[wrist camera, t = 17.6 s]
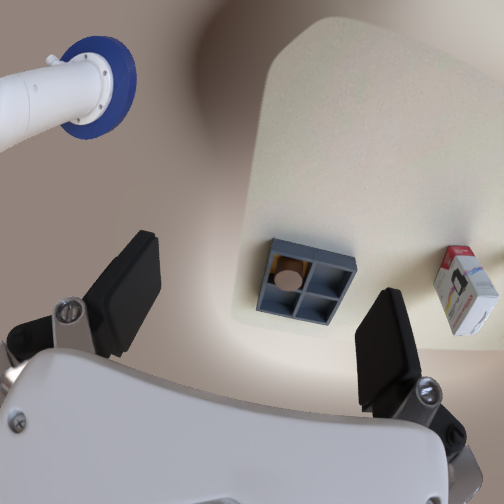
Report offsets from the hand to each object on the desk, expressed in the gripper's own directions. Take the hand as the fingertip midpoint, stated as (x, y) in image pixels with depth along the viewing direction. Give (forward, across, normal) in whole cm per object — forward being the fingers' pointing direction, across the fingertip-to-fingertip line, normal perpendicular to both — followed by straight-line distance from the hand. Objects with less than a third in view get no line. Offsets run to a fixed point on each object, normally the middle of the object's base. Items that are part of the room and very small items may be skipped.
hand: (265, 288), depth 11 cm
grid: (+26, -7, +21) cm, 34 cm away
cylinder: (+26, -4, +18) cm, 32 cm away
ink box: (+26, -31, +12) cm, 43 cm away
